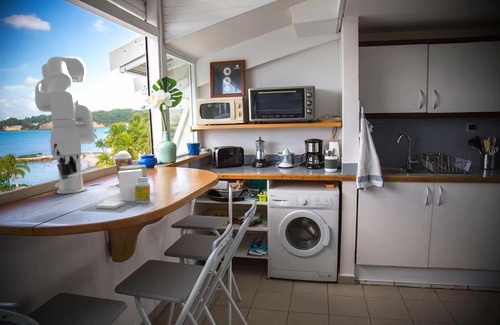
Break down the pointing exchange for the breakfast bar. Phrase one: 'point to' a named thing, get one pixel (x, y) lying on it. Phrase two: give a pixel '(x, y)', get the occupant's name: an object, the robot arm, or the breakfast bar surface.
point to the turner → (73, 171)
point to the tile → (110, 205)
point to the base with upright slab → (128, 184)
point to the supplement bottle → (142, 190)
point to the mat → (121, 209)
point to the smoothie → (122, 160)
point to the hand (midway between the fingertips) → (69, 173)
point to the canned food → (134, 168)
